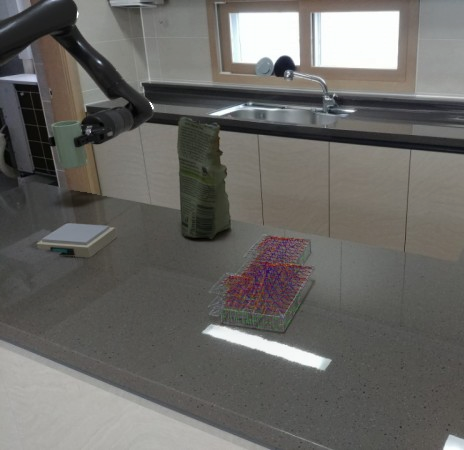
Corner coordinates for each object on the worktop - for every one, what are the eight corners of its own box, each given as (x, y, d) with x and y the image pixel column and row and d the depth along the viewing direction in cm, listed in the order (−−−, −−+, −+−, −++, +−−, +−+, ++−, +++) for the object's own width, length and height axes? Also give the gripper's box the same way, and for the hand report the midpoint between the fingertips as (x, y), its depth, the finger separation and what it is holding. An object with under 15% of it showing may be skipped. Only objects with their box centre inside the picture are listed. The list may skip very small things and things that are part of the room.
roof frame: (261, 244, 110) (259, 220, 108) (332, 251, 106) (332, 226, 104) (191, 324, 84) (187, 295, 82) (282, 338, 79) (280, 308, 77)
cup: (55, 168, 127) (45, 126, 123) (71, 160, 133) (62, 120, 129) (77, 168, 126) (68, 126, 122) (93, 161, 131) (85, 120, 127)
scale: (37, 255, 110) (33, 241, 109) (69, 234, 119) (66, 221, 118) (88, 259, 107) (85, 245, 106) (117, 237, 116) (114, 224, 115)
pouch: (188, 222, 123) (173, 113, 113) (239, 220, 122) (229, 111, 112) (175, 243, 112) (158, 124, 103) (232, 241, 112) (219, 122, 102)
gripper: (76, 111, 140) (32, 126, 125) (125, 112, 136) (86, 127, 121) (82, 139, 143) (40, 157, 128) (130, 141, 139) (93, 159, 124)
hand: (63, 142), depth 125 cm, fingers closed on cup, 6 cm apart
